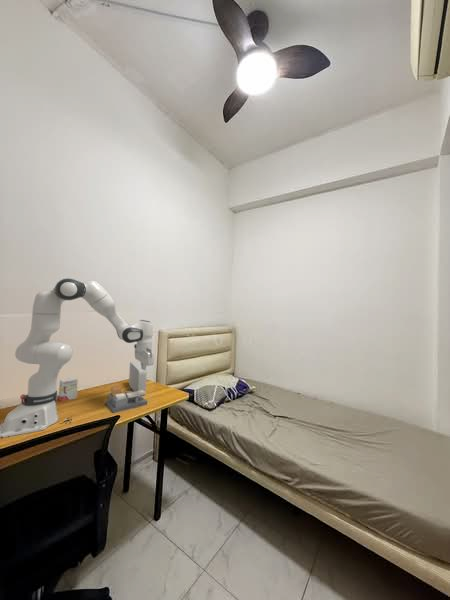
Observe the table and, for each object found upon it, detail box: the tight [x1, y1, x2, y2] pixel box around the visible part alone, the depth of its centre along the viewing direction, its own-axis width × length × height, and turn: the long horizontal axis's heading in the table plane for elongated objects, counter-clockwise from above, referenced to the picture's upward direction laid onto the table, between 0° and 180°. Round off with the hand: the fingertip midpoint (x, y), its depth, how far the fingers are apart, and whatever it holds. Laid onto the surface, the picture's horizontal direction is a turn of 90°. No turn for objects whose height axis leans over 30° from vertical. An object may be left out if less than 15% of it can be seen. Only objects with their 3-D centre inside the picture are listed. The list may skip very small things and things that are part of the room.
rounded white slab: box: [128, 361, 148, 394], centre depth 164 cm, size 27×7×17 cm, turn 34°
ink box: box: [57, 377, 78, 402], centre depth 144 cm, size 9×5×12 cm, turn 138°
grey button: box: [115, 392, 126, 400], centre depth 133 cm, size 4×4×5 cm
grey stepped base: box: [104, 392, 148, 414], centre depth 139 cm, size 19×15×6 cm
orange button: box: [110, 385, 122, 396], centre depth 139 cm, size 4×4×5 cm
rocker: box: [125, 390, 146, 398], centre depth 140 cm, size 10×4×2 cm, turn 132°
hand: (143, 369), depth 143 cm, fingers closed
